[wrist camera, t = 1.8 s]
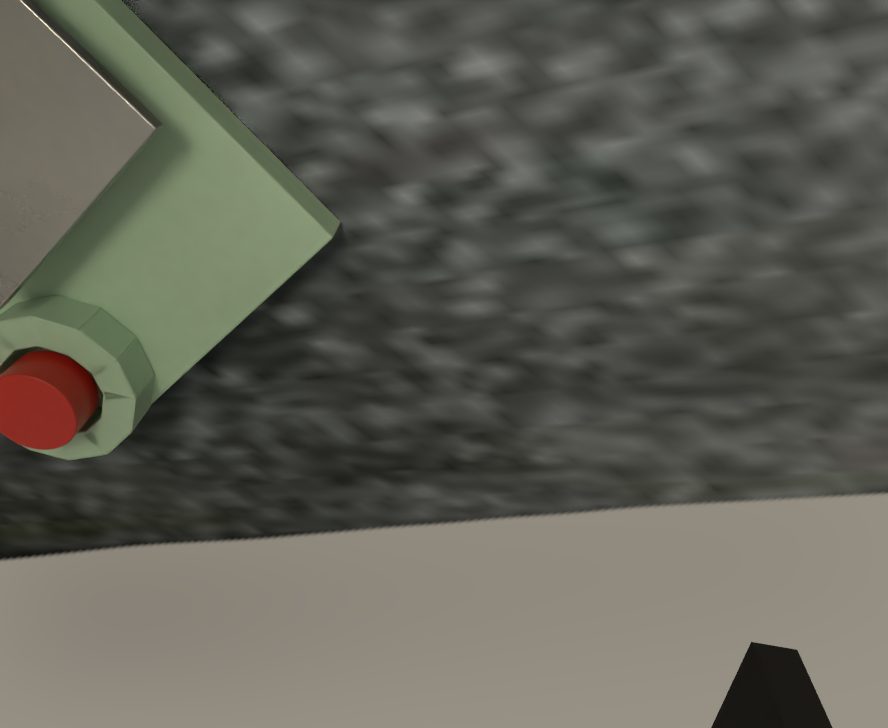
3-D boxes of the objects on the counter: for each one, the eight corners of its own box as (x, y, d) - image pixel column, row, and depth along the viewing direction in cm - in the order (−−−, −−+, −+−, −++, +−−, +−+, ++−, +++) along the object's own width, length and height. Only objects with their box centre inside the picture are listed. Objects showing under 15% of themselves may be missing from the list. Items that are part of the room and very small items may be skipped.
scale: (-254, 156, 26) (-351, 183, 23) (-58, -182, 21) (-151, -205, 18) (114, 432, 31) (75, 484, 28) (342, 222, 26) (324, 258, 23)
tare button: (-5, 383, 27) (-34, 409, 25) (42, 333, 25) (14, 357, 24) (68, 437, 28) (45, 464, 26) (116, 391, 27) (94, 418, 25)
